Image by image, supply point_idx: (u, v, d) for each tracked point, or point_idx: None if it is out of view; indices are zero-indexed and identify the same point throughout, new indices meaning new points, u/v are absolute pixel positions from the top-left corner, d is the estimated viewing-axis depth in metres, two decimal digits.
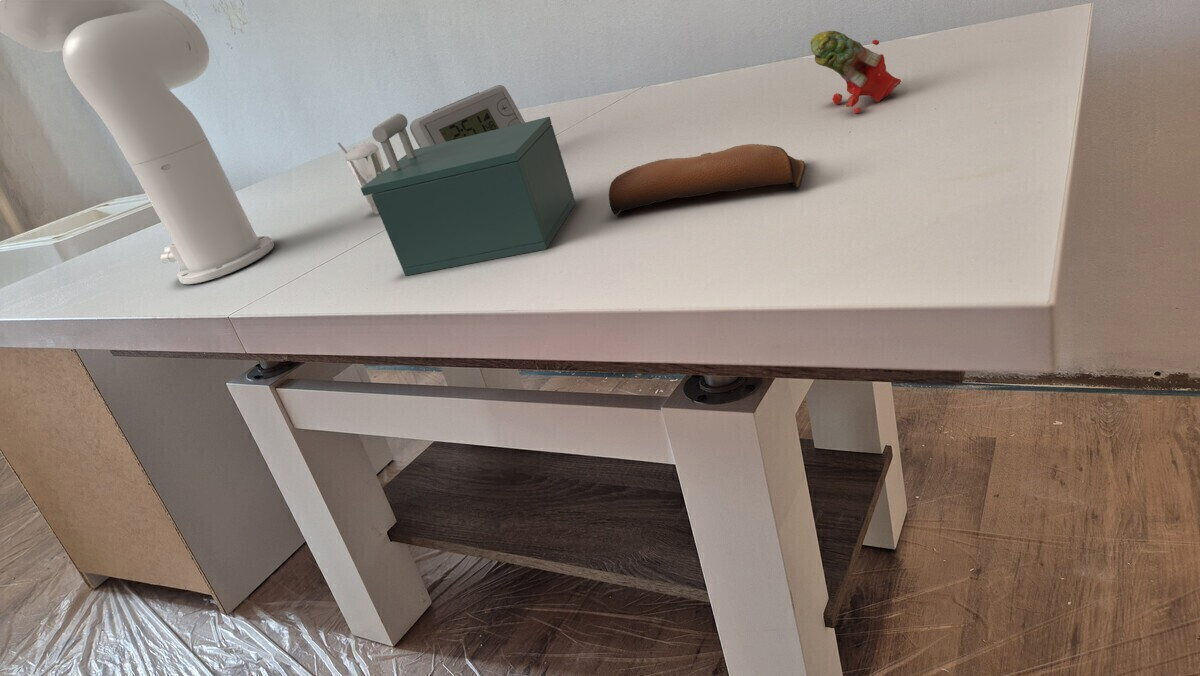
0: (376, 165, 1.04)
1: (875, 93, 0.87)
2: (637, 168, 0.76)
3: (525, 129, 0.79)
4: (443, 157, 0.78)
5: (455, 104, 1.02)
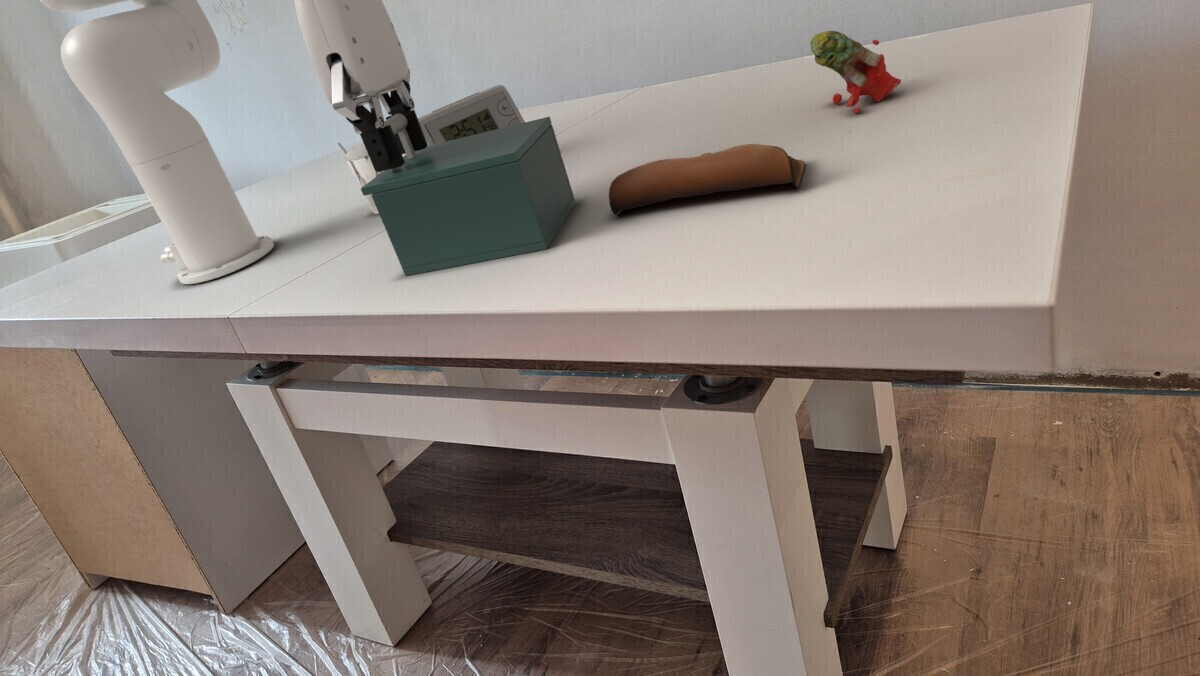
0: None
1: (875, 93, 0.87)
2: (637, 168, 0.76)
3: (525, 129, 0.79)
4: (443, 157, 0.78)
5: (455, 104, 1.02)
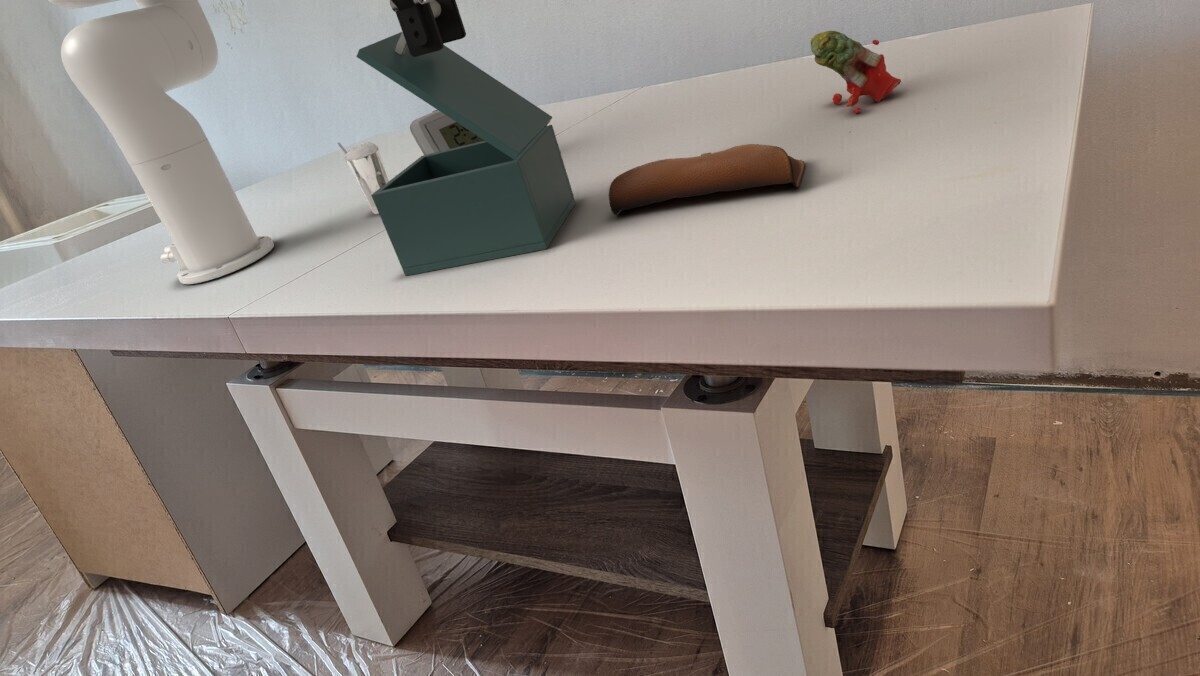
0: (376, 165, 1.04)
1: (875, 93, 0.87)
2: (637, 168, 0.76)
3: (529, 117, 0.78)
4: (448, 82, 0.74)
5: None
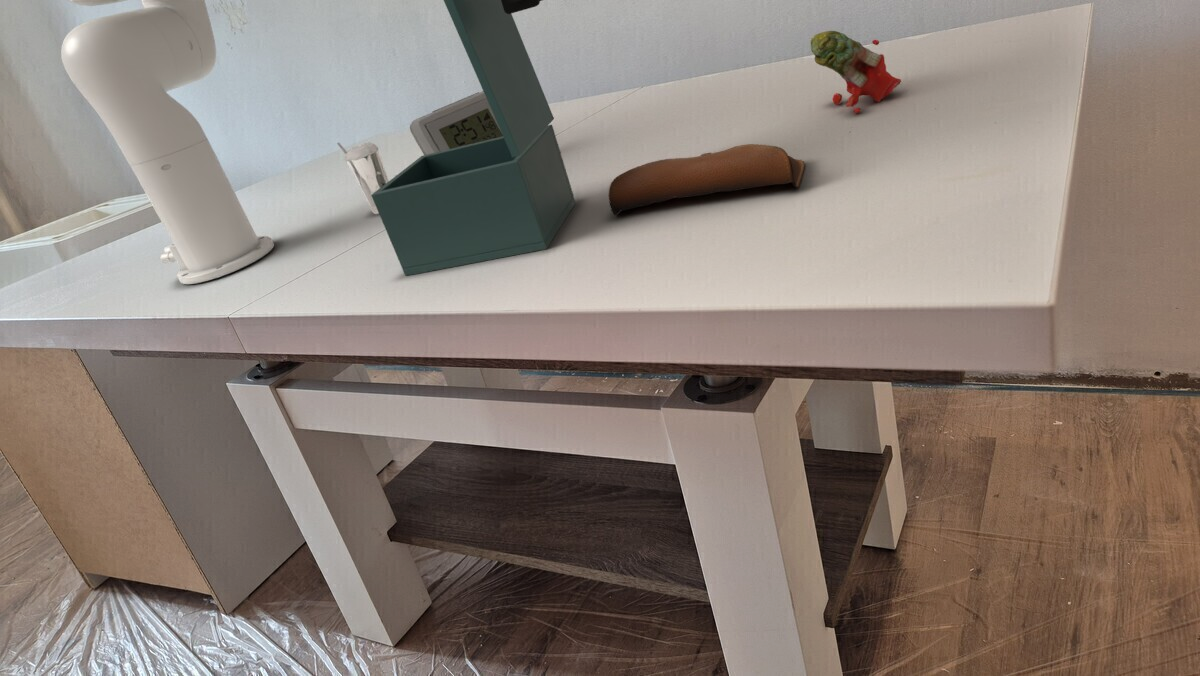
0: (376, 165, 1.04)
1: (875, 93, 0.87)
2: (637, 168, 0.76)
3: (538, 112, 0.78)
4: (493, 43, 0.72)
5: (455, 104, 1.02)
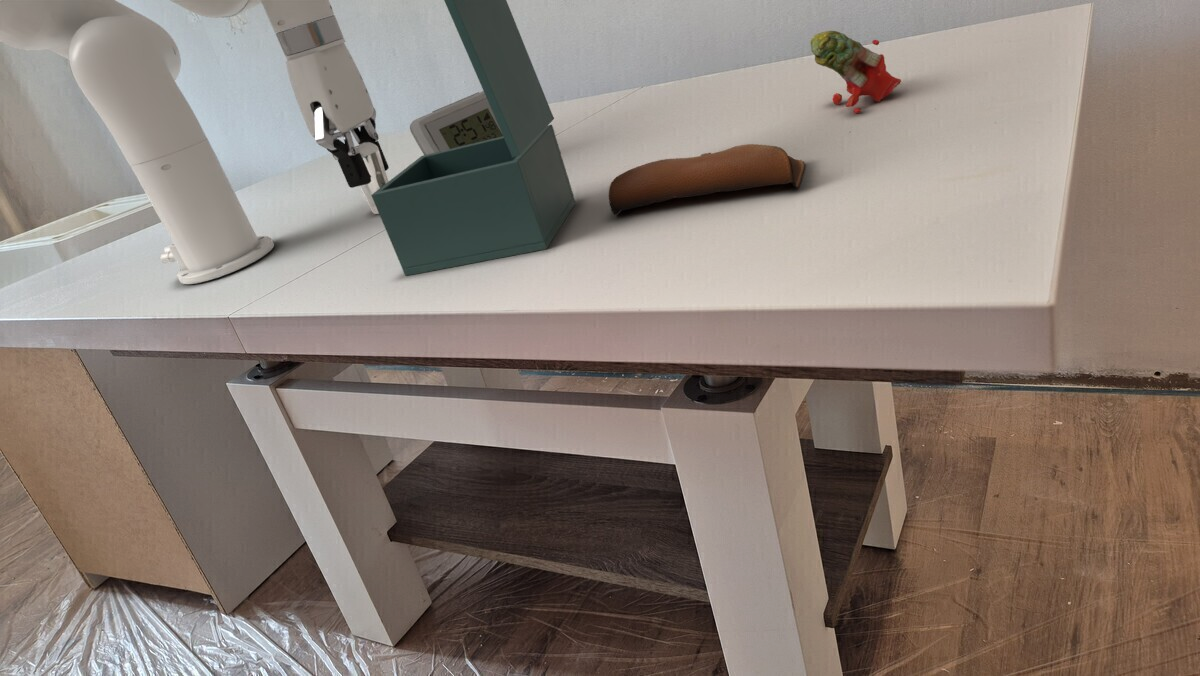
0: (376, 165, 1.04)
1: (875, 93, 0.87)
2: (637, 168, 0.76)
3: (538, 112, 0.78)
4: (494, 42, 0.72)
5: (455, 104, 1.02)
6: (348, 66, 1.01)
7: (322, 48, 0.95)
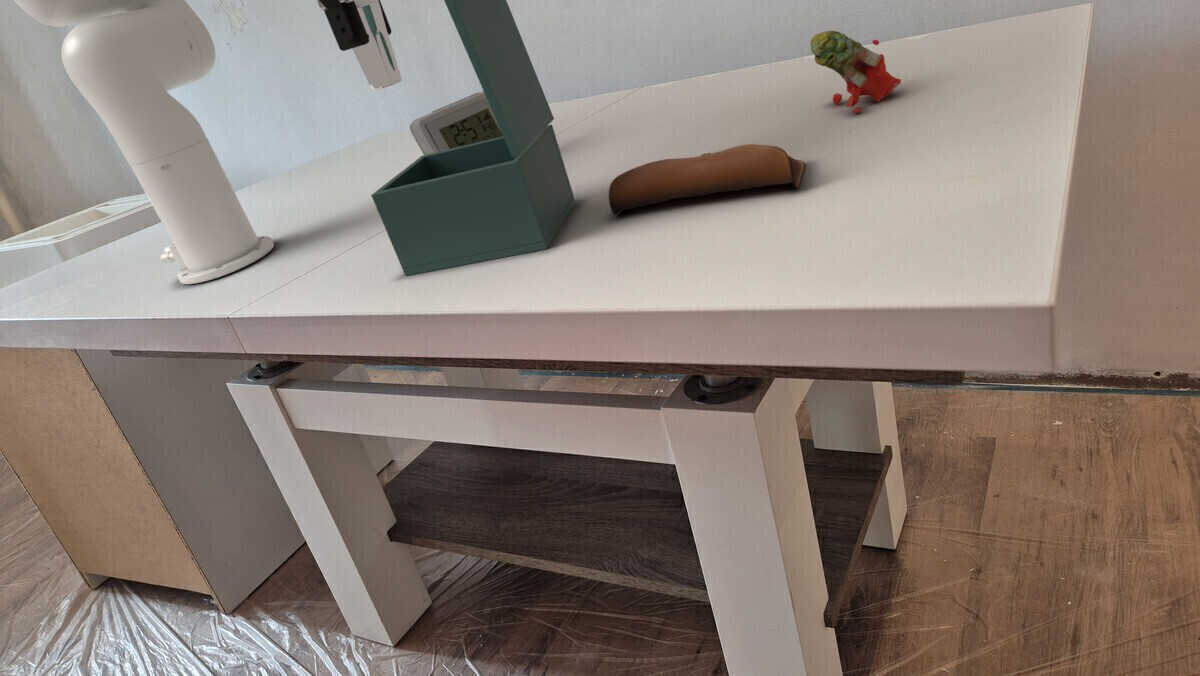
0: (375, 21, 0.79)
1: (875, 93, 0.87)
2: (637, 168, 0.76)
3: (538, 112, 0.78)
4: (494, 42, 0.72)
5: (455, 104, 1.02)
6: None
7: None
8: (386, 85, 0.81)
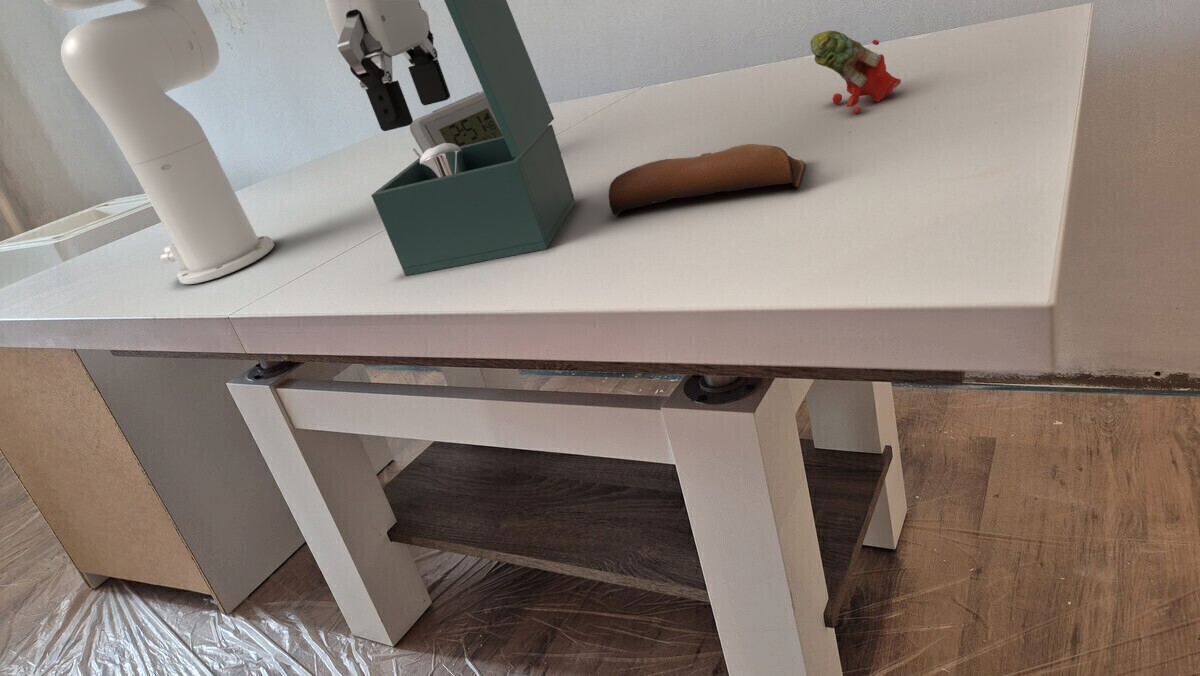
0: (457, 167, 0.82)
1: (875, 93, 0.87)
2: (637, 168, 0.76)
3: (538, 112, 0.78)
4: (494, 42, 0.72)
5: (455, 104, 1.02)
6: None
7: None
8: None
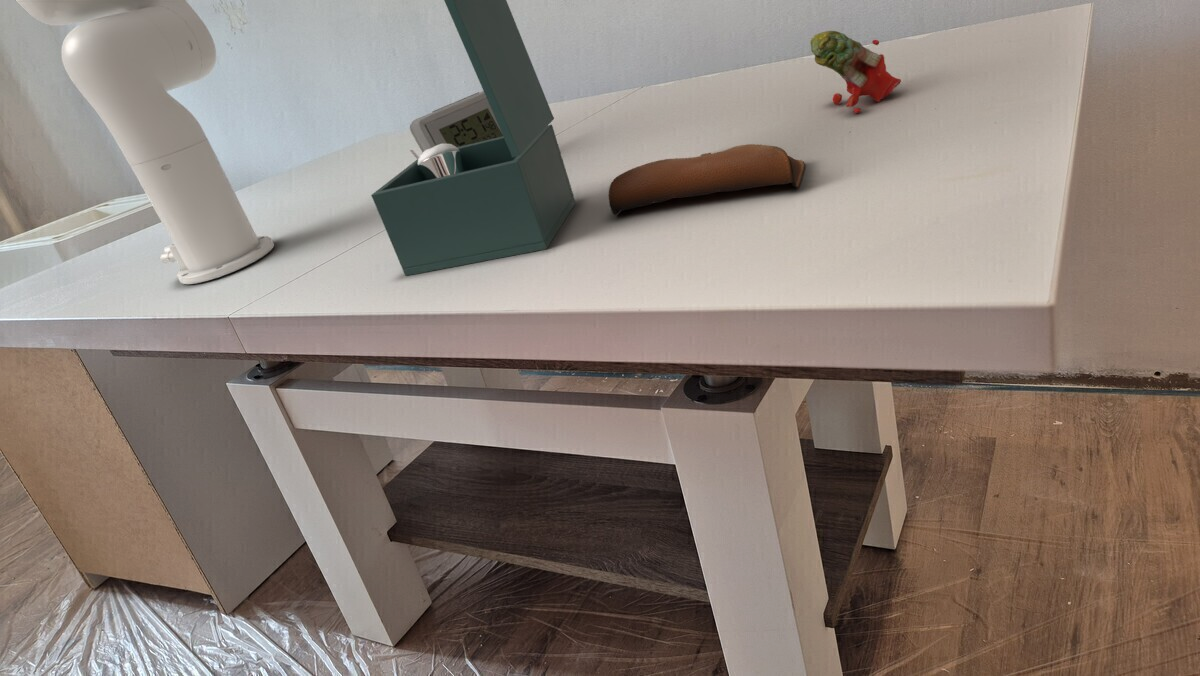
0: (455, 167, 0.82)
1: (875, 93, 0.87)
2: (637, 168, 0.76)
3: (538, 112, 0.78)
4: (494, 42, 0.72)
5: (455, 104, 1.02)
6: None
7: None
8: None
